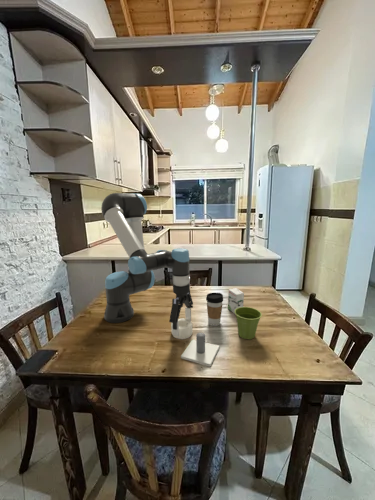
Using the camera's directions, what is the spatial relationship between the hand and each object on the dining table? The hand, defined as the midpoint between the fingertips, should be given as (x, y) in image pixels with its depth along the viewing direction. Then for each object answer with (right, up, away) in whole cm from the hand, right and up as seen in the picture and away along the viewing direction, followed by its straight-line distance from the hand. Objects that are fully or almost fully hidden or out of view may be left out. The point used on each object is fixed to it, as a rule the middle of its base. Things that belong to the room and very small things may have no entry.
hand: (182, 327), depth 106 cm
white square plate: (+8, -6, -13) cm, 16 cm away
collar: (0, -3, +1) cm, 3 cm away
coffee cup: (+16, -1, +10) cm, 19 cm away
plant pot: (+29, -3, -1) cm, 30 cm away
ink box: (+29, +2, +23) cm, 37 cm away
